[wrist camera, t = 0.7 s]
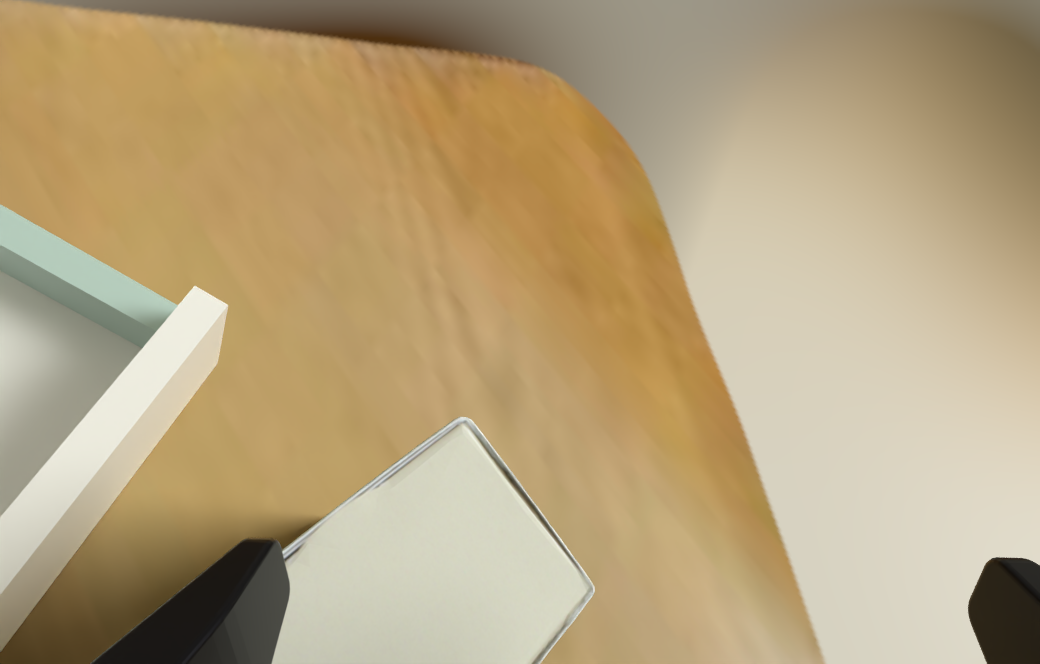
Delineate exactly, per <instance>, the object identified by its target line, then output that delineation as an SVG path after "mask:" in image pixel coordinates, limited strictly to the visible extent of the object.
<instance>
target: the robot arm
mask: <svg viewBox="0 0 1040 664" xmlns="http://www.w3.org/2000/svg"><path fill="white" fill-rule="evenodd" d="M289 595H290V581H289V577H288V573H287V569H286V565H285V561H284V557H283V553H282V549H281V546H280V543H279V542H278V541H277V540H276V539H273V538H246V539H244V540H242V541H241V542H239V543H238V544H237V545H236V546H234V547H233V548H232V549H231V550H229V551H228V552H227V553H226V554H224V555H223V556H222V557H221V558H220V559H218V560H217V561H216V562H215V563H213V564H212V565H211V566H210V567H208V568H207V569H206V570H205V571H204V572H202V573H201V574H200V575H199V576H197V577H196V578H195V579H194V580H192V581H191V582H190V583H189V584H187V585H186V586H185V587H184V588H183V589H181V590H180V591H179V592H178V593H176V594H175V595H174V596H173V597H171V598H170V599H169V600H168V601H167V602H165V603H164V604H163V605H162V606H160V607H159V608H158V609H157V610H155V611H154V612H153V613H152V614H150V615H149V616H148V617H147V618H146V619H144V620H143V621H142V622H141V623H139V624H138V625H137V626H136V627H134V628H133V629H132V630H131V631H130V632H128V633H127V634H126V635H125V636H123V637H122V638H121V639H120V640H118V641H117V642H116V643H115V644H113V645H112V646H111V647H110V648H109V649H107V650H106V651H105V652H104V653H102V654H101V655H100V656H99V657H97V658H96V659H95V660H94V661H93V662H91V663H90V664H272V660H273V657H274V653H275V649H276V645H277V642H278V638H279V634H280V631H281V627H282V623H283V620H284V616H285V612H286V609H287V605H288V601H289ZM968 613H969V618H970V622H971V625H972V627H973V630H974V632H975V635H976V637H977V640H978V642H979V645H980V647H981V650H982V652H983V655H984V657H985V660H986V662H987V664H1040V565H1038V564H1036V563H1035V562H1033V561H1030V560H1028V559H1023V558H998V557H996V558H992V559H991V560H989V561H988V562H987V563H986V565H985V566H984V569H983V571H982V573H981V575H980V578H979V580H978V582H977V585H976V586H975V589H974V591H973V593H972V595H971V598H970V600H969V605H968Z"/></svg>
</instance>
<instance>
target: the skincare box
mask: <svg viewBox="0 0 1040 664" xmlns="http://www.w3.org/2000/svg"><path fill="white" fill-rule="evenodd" d="M282 553H283V557H284V561H285V565H286V569H287V573H288V577H289V581H290V595H289V601H288V605H287V609H286V612H285V616H284V620H283V623H282V627H281V631H280V634H279V638H278V642H277V645H276V649H275V653H274V657H273V660H272V664H540V663H541V662H542V661H543V659H544V658H545V657H546V655H547V654H548V653H549V651H550V650H551V649H552V647H553V646H554V645H555V644H556V642H557V641H558V640H559V639H560V638H561V636H562V635H563V634H564V633H565V631H566V630H567V629H568V627H569V626H570V625H571V624H572V623H573V621H574V620H575V619H576V618H577V616H578V615H579V613H580V612H581V611H582V609H583V608H584V607H585V605H586V604H587V602H588V601H589V600H590V599H591V597H592V596H593V594H594V590H595V589H594V585H593V584H592V582H591V580H590V579H589V577H588V576H587V574H586V573H585V572H584V570H583V569H582V567H581V566H580V565H579V563H578V562H577V561H576V559H575V558H574V557H573V555H572V554H571V552H570V551H569V550H568V548H567V547H566V545H565V544H564V543H563V541H562V540H561V538H560V537H559V536H558V534H557V533H556V532H555V530H554V529H553V528H552V526H551V525H550V524H549V522H548V521H547V519H546V518H545V516H544V515H543V514H542V512H541V511H540V510H539V508H538V507H537V505H536V504H535V503H534V501H533V500H532V499H531V498H530V496H529V495H528V494H527V492H526V491H525V489H524V488H523V487H522V485H521V484H520V482H519V481H518V480H517V478H516V477H515V476H514V474H513V473H512V472H511V470H510V469H509V468H508V466H507V465H506V464H505V463H504V461H503V460H502V459H501V457H500V456H499V455H498V454H497V452H496V451H495V450H494V448H493V447H492V445H491V444H490V443H489V441H488V440H487V439H486V437H485V436H484V435H483V434H482V432H481V431H480V430H479V428H478V427H477V426H476V425H475V423H474V422H473V421H472V420H471V419H469V418H467V417H458V418H456V419H454V420H453V421H451V422H450V423H448V424H447V425H446V426H444V427H443V428H441V429H440V430H439V431H437V432H436V433H435V434H433V435H432V436H430V437H429V438H428V439H426V440H425V441H423V442H422V443H421V444H419V445H418V446H417V447H415V448H414V449H413V450H411V451H410V452H409V453H407V454H406V455H405V456H403V457H402V458H401V459H399V460H398V461H397V462H395V463H394V464H393V465H391V466H390V467H389V468H387V469H386V470H385V471H383V472H382V473H381V474H379V475H378V476H377V477H375V478H374V479H373V480H372V481H370V482H369V483H368V484H366V485H365V486H364V487H362V488H361V489H360V490H358V491H357V492H356V493H354V494H353V495H352V496H351V497H349V498H348V499H347V500H345V501H344V502H343V503H341V504H340V505H339V506H338V507H336V508H335V509H334V510H332V511H331V512H330V513H329V514H327V515H326V516H325V517H323V518H322V519H321V520H320V521H318V522H317V523H316V524H315V525H313V526H312V527H311V528H309V529H308V530H307V531H306V532H304V533H303V534H302V535H300V536H299V537H298V538H297V539H295V540H294V541H293V542H292V543H290V544H289V545H288V546H286V547H285V548H284V549H283V550H282Z"/></svg>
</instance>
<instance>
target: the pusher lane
mask: <svg viewBox="0 0 1040 664" xmlns="http://www.w3.org/2000/svg"><path fill="white" fill-rule="evenodd" d="M227 309H228V305H227V304H225V303H224V302H222V301H220V300H218V299H217V298H215V297H213V296H212V295H210V294H208V293H206V292H205V291H203V290H201V289H199V288H198V287H196V286H194V287H193V288H192V290H191V291H190V292H189V293H188V294H187V296H186V297H185V298H184V299H183V300H182V302H181V303H180V304H179V305H176V304H174V303H173V302H171V301H169V300H167V299H165V298H164V297H162V296H160V295H158V294H157V293H155V292H153V291H151V290H150V289H148V288H146V287H144V286H143V285H141V284H139V283H137V282H136V281H134V280H132V279H130V278H129V277H127V276H125V275H123V274H122V273H120V272H118V271H116V270H115V269H113V268H111V267H109V266H108V265H106V264H104V263H102V262H101V261H99V260H97V259H95V258H93V257H92V256H90V255H88V254H86V253H85V252H83V251H81V250H79V249H78V248H76V247H74V246H72V245H71V244H69V243H67V242H65V241H64V240H62V239H60V238H58V237H57V236H55V235H53V234H51V233H50V232H48V231H46V230H44V229H43V228H41V227H39V226H37V225H36V224H34V223H32V222H30V221H29V220H27V219H25V218H23V217H21V216H20V215H18V214H16V213H14V212H13V211H11V210H9V209H7V208H6V207H4V206H2V205H0V652H1V651H2V650H3V648H4V647H5V646H6V644H7V643H8V642H9V640H10V639H11V638H12V636H13V635H14V634H15V632H16V631H17V630H18V628H19V627H20V626H21V624H22V623H23V622H24V620H25V619H26V618H27V616H28V615H29V614H30V612H31V611H32V610H33V608H34V607H35V606H36V604H37V603H38V602H39V600H40V599H41V598H42V596H43V595H44V594H45V592H46V591H47V590H48V588H49V587H50V586H51V584H52V583H53V582H54V580H55V579H56V578H57V576H58V575H59V574H60V572H61V571H62V570H63V568H64V567H65V566H66V564H67V563H68V562H69V560H70V559H71V558H72V556H73V555H74V554H75V553H76V551H77V550H78V549H79V547H80V546H81V545H82V543H83V542H84V541H85V539H86V538H87V537H88V535H89V534H90V533H91V531H92V530H93V529H94V527H95V526H96V525H97V523H98V522H99V521H100V519H101V518H102V517H103V515H104V514H105V513H106V511H107V510H108V509H109V507H110V506H111V505H112V503H113V502H114V501H115V499H116V498H117V497H118V495H119V494H120V493H121V491H122V490H123V489H124V487H125V486H126V485H127V483H128V482H129V481H130V479H131V478H132V477H133V475H134V474H135V473H136V471H137V470H138V469H139V467H140V466H141V465H142V463H143V462H144V461H145V459H146V458H147V457H148V455H149V454H150V453H151V451H152V450H153V449H154V447H155V446H156V445H157V443H158V442H159V441H160V439H161V438H162V437H163V435H164V434H165V433H166V431H167V430H168V429H169V427H170V426H171V425H172V423H173V422H174V421H175V419H176V418H177V417H178V415H179V414H180V413H181V411H182V410H183V409H184V407H185V406H186V405H187V404H188V402H189V401H190V400H191V398H192V397H193V396H194V394H195V393H196V392H197V390H198V389H199V388H200V386H201V385H202V384H203V382H204V381H205V380H206V378H207V377H208V376H209V374H210V373H211V372H212V370H213V369H214V368H215V366H216V365H217V363H218V358H219V353H220V347H221V342H222V336H223V331H224V326H225V320H226V315H227Z"/></svg>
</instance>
